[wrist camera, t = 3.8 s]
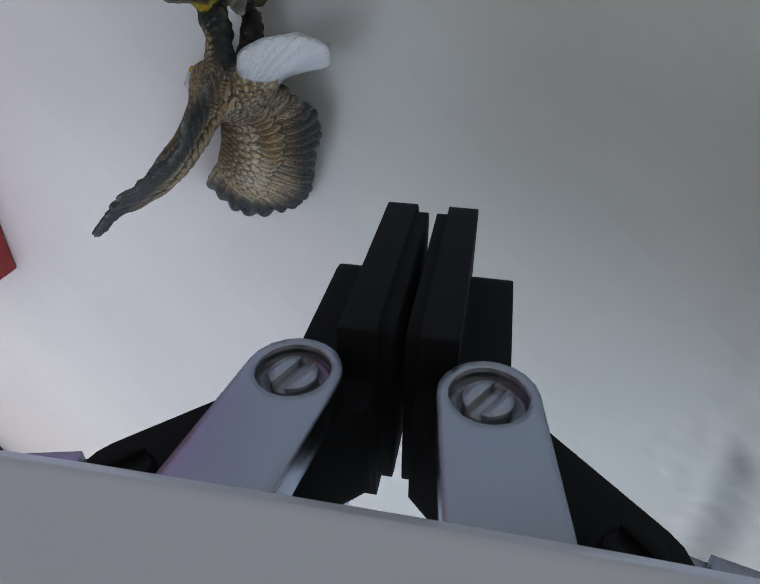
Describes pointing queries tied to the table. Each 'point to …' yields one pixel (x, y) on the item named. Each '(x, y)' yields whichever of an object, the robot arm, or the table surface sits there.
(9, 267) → the pencil case
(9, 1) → the table surface
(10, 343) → the table surface
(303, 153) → the eagle figurine
